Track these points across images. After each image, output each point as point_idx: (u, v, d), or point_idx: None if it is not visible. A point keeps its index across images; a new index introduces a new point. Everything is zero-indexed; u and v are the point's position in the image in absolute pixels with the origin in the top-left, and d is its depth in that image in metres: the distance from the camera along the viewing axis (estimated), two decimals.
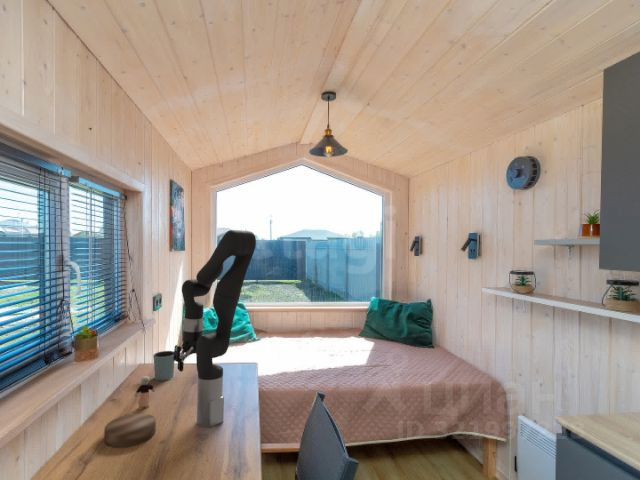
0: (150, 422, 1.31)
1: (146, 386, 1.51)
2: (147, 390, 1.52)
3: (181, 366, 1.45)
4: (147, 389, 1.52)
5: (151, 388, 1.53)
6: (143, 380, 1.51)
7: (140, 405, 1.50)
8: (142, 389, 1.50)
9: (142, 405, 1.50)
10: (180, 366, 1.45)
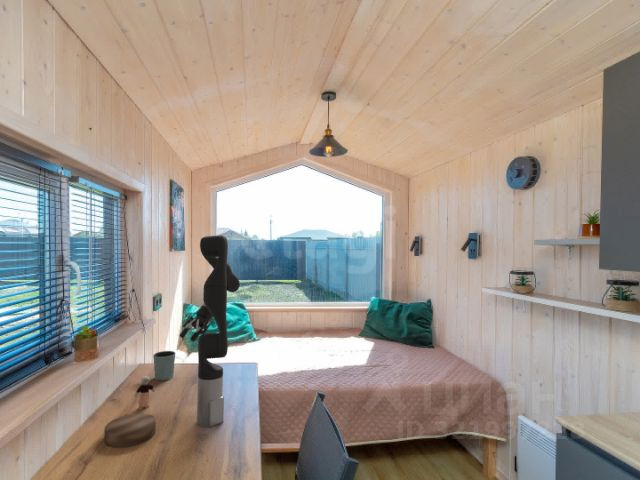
0: (150, 422, 1.31)
1: (146, 386, 1.51)
2: (147, 390, 1.52)
3: (182, 331, 1.70)
4: (147, 389, 1.52)
5: (151, 388, 1.53)
6: (143, 380, 1.51)
7: (140, 405, 1.50)
8: (142, 389, 1.50)
9: (142, 405, 1.50)
10: (182, 331, 1.70)
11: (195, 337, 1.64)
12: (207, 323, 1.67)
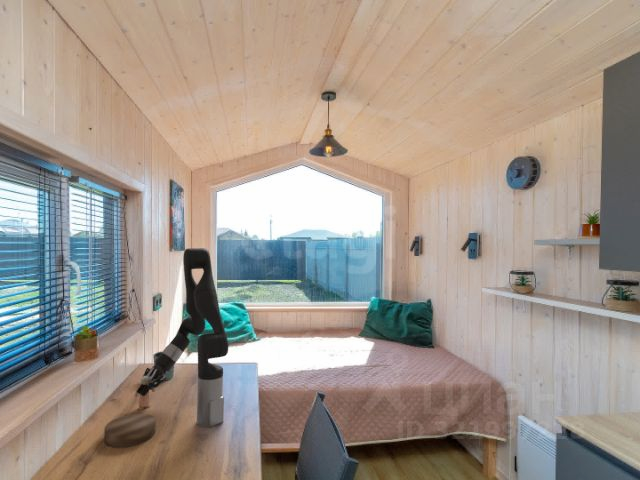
0: (150, 422, 1.31)
1: None
2: None
3: None
4: None
5: (151, 388, 1.53)
6: (143, 380, 1.51)
7: (140, 405, 1.50)
8: (142, 389, 1.50)
9: (142, 405, 1.50)
10: None
11: (146, 391, 1.50)
12: (161, 378, 1.51)
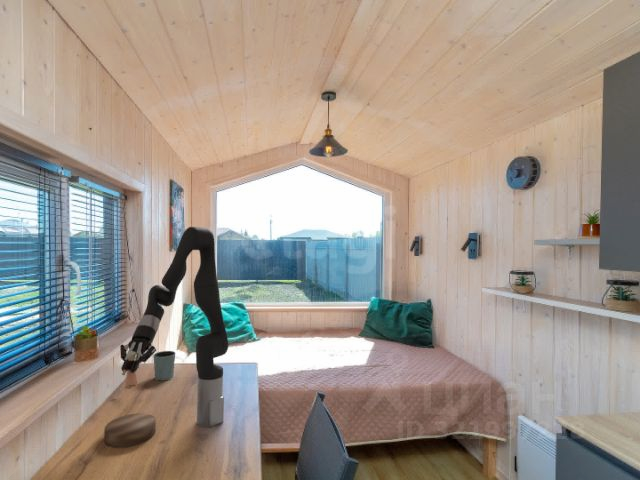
0: (150, 422, 1.31)
1: None
2: None
3: (124, 364, 1.33)
4: None
5: None
6: (131, 355, 1.33)
7: (128, 384, 1.32)
8: (130, 365, 1.33)
9: (130, 384, 1.33)
10: (123, 365, 1.33)
11: (136, 367, 1.33)
12: (153, 349, 1.37)
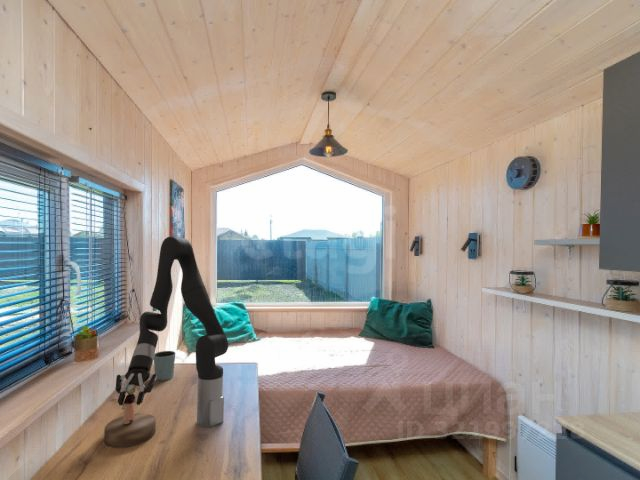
0: (150, 422, 1.31)
1: (133, 395, 1.32)
2: (133, 400, 1.32)
3: (120, 397, 1.28)
4: (133, 399, 1.33)
5: (134, 398, 1.34)
6: (131, 388, 1.31)
7: (127, 419, 1.29)
8: (130, 399, 1.31)
9: (128, 418, 1.30)
10: (119, 397, 1.28)
11: (142, 398, 1.30)
12: (155, 378, 1.35)
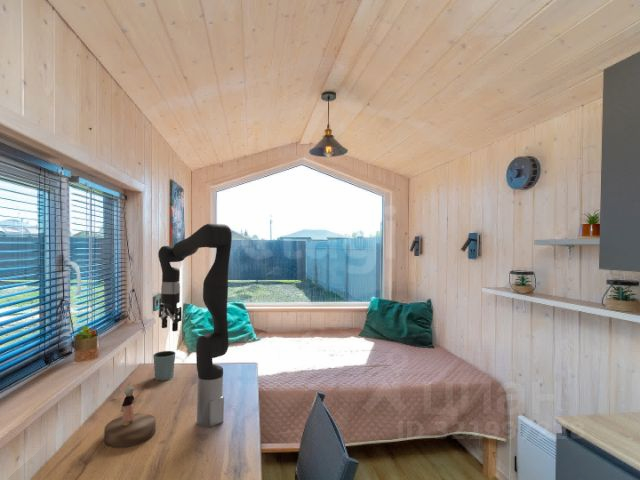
0: (150, 422, 1.31)
1: (131, 397, 1.31)
2: (132, 401, 1.32)
3: (162, 323, 1.62)
4: (132, 400, 1.32)
5: (133, 399, 1.33)
6: (129, 390, 1.30)
7: (126, 420, 1.29)
8: (129, 401, 1.30)
9: (128, 420, 1.30)
10: (162, 323, 1.62)
11: (176, 327, 1.57)
12: (177, 310, 1.55)
